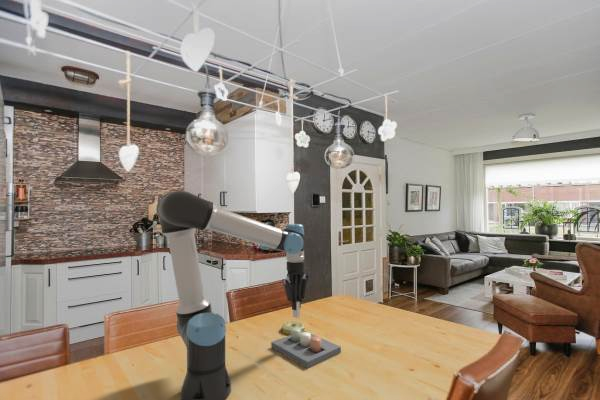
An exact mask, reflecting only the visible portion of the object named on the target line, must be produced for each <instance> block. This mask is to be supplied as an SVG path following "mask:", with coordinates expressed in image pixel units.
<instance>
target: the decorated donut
mask: <svg viewBox="0 0 600 400" xmlns="http://www.w3.org/2000/svg"><path fill="white" fill-rule="evenodd" d="M292 328H299V329H301V331H303V330H304V331H305V328H306V327H305V325H304V324H302V323H301V322H299V321H294V320H293V321H288V322H285V323H283V324H282V325H281V331H282V333H283V334H286V335H291V329H292Z"/></svg>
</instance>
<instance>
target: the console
mask: <svg viewBox="0 0 600 400" xmlns="http://www.w3.org/2000/svg"><path fill="white" fill-rule="evenodd" d="M303 332H308V331H306V330H305V329H304V330H303V331H301V333H303ZM308 333H310V334H311V338H312V337H319V336H318V335H316V334H313V333H311V332H308ZM320 338H321V347H322V350H321V351H320V352H313V351H311V350H310V346H308V347H303V346H301V345H300V341H299V342H293V341H291V335H290V334H288V335H286V336H284V337H282V338H279V339H276V340H273V341H271V348H272V349H274V350H275V351H276V352H278V353H280V354H282V355H284V356H285V357H287V358H289V359H291V360H293V361H294V362H296V363H298V364H300V365H301V366H303V367H305V368H307V369H310V368H312V367H313V366H315V365H318V364H320V363H323V362H324V361H326V360H329V359H331V358H332V357H334V356H337V355H338V354H341V353H342V346H340V345H338V344H335V343H333V342H331V341H328V340H327V339H325V338H323V337H320Z"/></svg>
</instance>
